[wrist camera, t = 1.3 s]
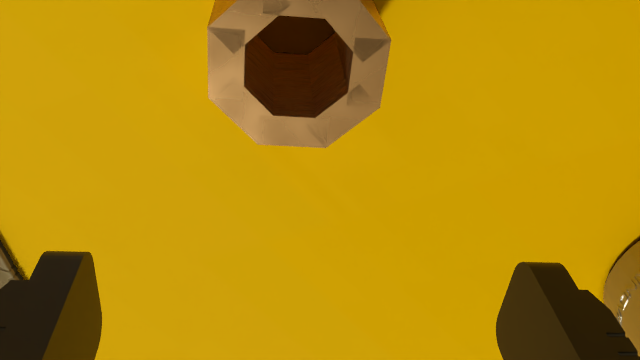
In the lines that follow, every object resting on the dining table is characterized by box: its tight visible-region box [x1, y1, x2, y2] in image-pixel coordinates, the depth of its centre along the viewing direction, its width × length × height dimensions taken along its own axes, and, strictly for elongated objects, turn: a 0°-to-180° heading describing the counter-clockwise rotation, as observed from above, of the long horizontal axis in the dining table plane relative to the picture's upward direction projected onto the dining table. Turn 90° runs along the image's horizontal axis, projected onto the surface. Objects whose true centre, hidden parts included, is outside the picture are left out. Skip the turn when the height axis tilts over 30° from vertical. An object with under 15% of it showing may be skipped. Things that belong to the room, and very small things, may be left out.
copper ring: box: [207, 0, 391, 148], centre depth 22 cm, size 6×6×6 cm
